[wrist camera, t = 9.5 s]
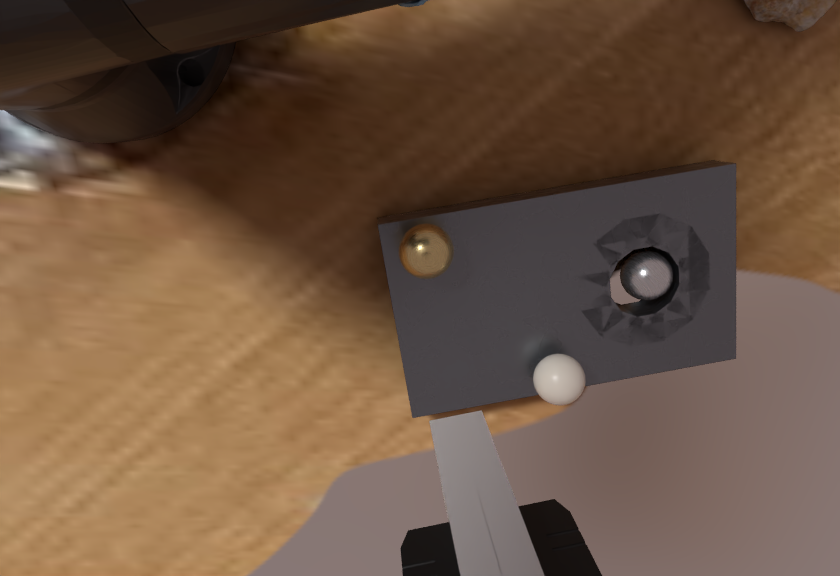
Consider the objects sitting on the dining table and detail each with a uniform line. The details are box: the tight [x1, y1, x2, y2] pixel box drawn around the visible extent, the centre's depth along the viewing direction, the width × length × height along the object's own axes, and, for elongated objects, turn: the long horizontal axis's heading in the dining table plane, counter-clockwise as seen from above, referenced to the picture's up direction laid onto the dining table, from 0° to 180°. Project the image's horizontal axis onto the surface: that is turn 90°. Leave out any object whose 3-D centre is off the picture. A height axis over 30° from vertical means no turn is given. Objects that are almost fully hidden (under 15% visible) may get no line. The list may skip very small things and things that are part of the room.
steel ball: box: [620, 251, 673, 300], centre depth 39 cm, size 3×3×3 cm
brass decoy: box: [398, 224, 454, 279], centre depth 34 cm, size 3×3×3 cm
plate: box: [377, 160, 736, 418], centre depth 39 cm, size 22×13×2 cm, turn 99°
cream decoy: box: [533, 354, 585, 405], centre depth 37 cm, size 3×3×3 cm
